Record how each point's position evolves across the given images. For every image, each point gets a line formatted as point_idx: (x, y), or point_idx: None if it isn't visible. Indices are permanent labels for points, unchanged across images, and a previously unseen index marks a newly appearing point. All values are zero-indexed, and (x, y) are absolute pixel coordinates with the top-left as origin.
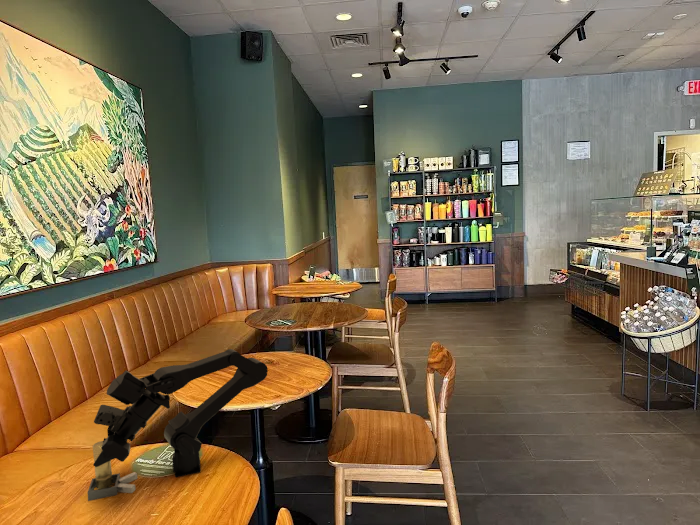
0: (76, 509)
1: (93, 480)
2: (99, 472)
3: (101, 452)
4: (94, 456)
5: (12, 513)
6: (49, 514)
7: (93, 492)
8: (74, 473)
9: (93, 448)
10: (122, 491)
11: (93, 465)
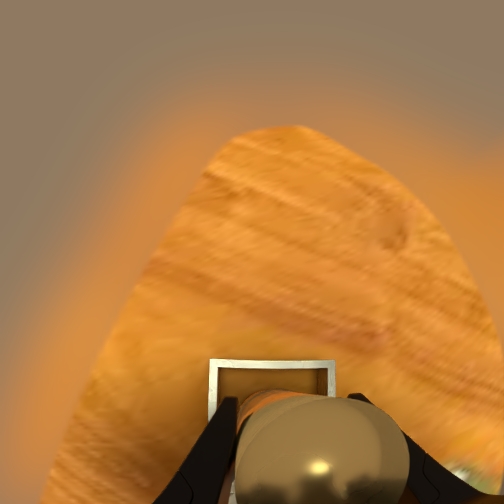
0: (177, 324)
1: (320, 367)
2: (238, 421)
3: (162, 493)
4: (265, 408)
5: (253, 142)
6: (190, 238)
7: (210, 383)
8: (441, 269)
9: (276, 414)
10: None
11: (225, 397)
